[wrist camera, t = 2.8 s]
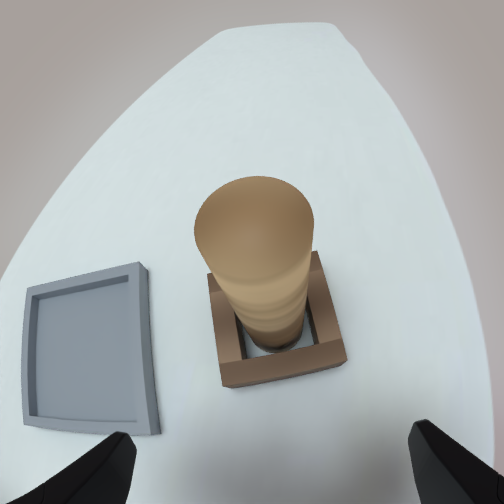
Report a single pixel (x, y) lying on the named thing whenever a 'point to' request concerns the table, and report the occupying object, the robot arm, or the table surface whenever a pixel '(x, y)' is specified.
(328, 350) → the walnut holder
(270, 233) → the oak dowel
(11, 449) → the table surface
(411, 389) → the table surface
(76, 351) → the plastic tray
